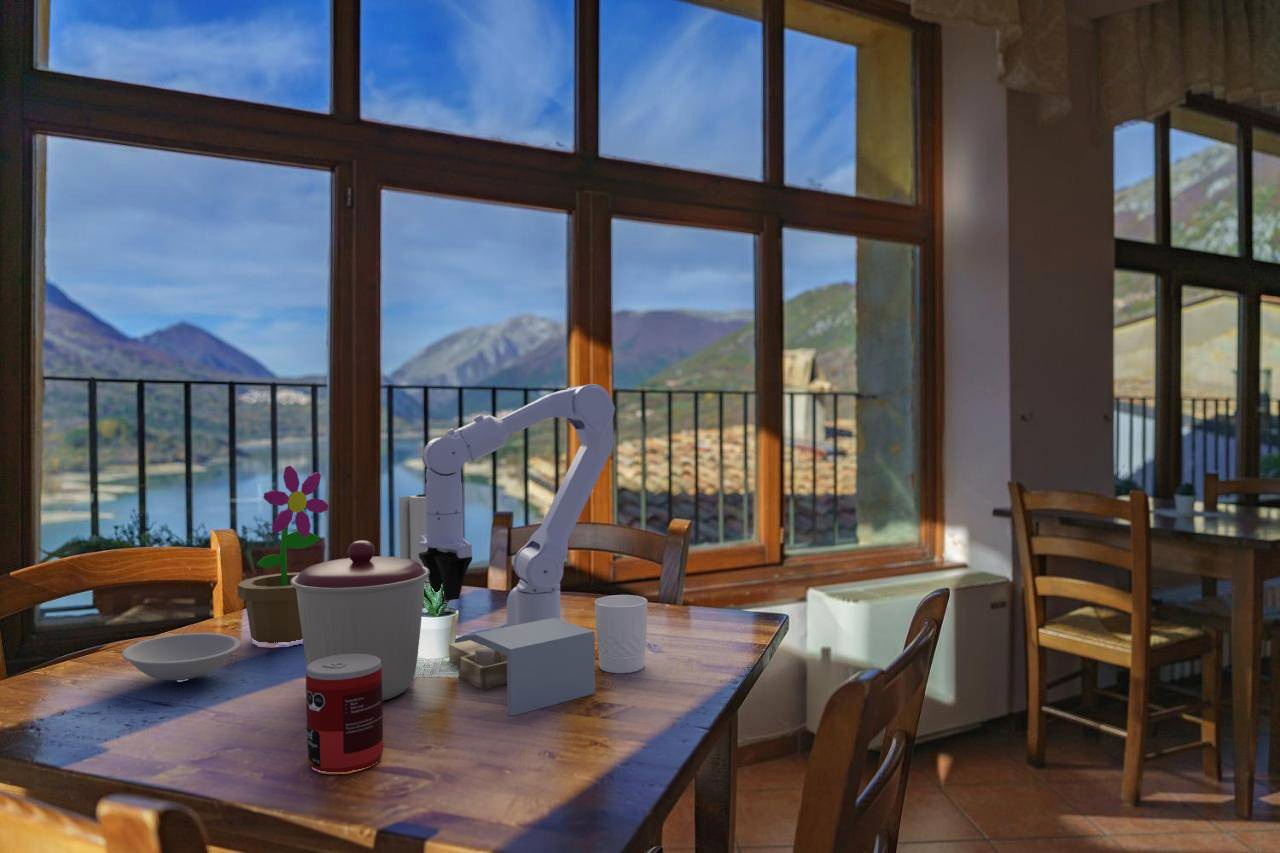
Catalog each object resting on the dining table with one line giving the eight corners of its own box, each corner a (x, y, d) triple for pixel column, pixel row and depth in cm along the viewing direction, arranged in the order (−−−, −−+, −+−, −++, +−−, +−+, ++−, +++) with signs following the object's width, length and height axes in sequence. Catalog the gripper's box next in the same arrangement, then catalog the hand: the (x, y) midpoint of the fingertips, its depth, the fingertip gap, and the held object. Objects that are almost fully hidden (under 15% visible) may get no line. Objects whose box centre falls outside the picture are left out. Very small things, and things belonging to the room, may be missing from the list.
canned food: (319, 749, 97) (317, 654, 97) (390, 746, 97) (388, 651, 97) (297, 778, 89) (295, 675, 89) (375, 774, 90) (373, 672, 90)
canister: (456, 679, 122) (454, 533, 121) (378, 724, 104) (375, 554, 104) (352, 668, 127) (349, 529, 127) (262, 709, 110) (258, 548, 110)
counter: (474, 695, 114) (473, 633, 114) (554, 675, 122) (553, 617, 122) (511, 716, 106) (510, 649, 106) (595, 693, 115) (594, 631, 114)
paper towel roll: (446, 594, 178) (444, 493, 177) (432, 601, 172) (430, 496, 172) (414, 593, 179) (413, 493, 179) (400, 599, 174) (398, 496, 173)
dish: (101, 683, 122) (100, 649, 122) (201, 658, 133) (201, 627, 133) (160, 707, 112) (159, 670, 111) (263, 678, 123) (262, 644, 123)
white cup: (642, 676, 122) (641, 607, 122) (589, 673, 123) (588, 605, 123) (652, 660, 129) (651, 595, 129) (602, 658, 131) (601, 594, 131)
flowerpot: (273, 656, 134) (270, 468, 133) (220, 644, 142) (216, 466, 141) (347, 635, 146) (344, 463, 146) (295, 625, 154) (291, 461, 153)
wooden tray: (433, 664, 129) (432, 636, 129) (485, 653, 134) (485, 626, 134) (482, 689, 117) (481, 659, 117) (537, 676, 122) (537, 646, 122)
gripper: (401, 510, 138) (403, 593, 138) (441, 518, 126) (443, 609, 127) (441, 507, 142) (443, 587, 142) (483, 514, 131) (485, 601, 131)
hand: (446, 597), depth 135 cm, fingers open, 4 cm apart
